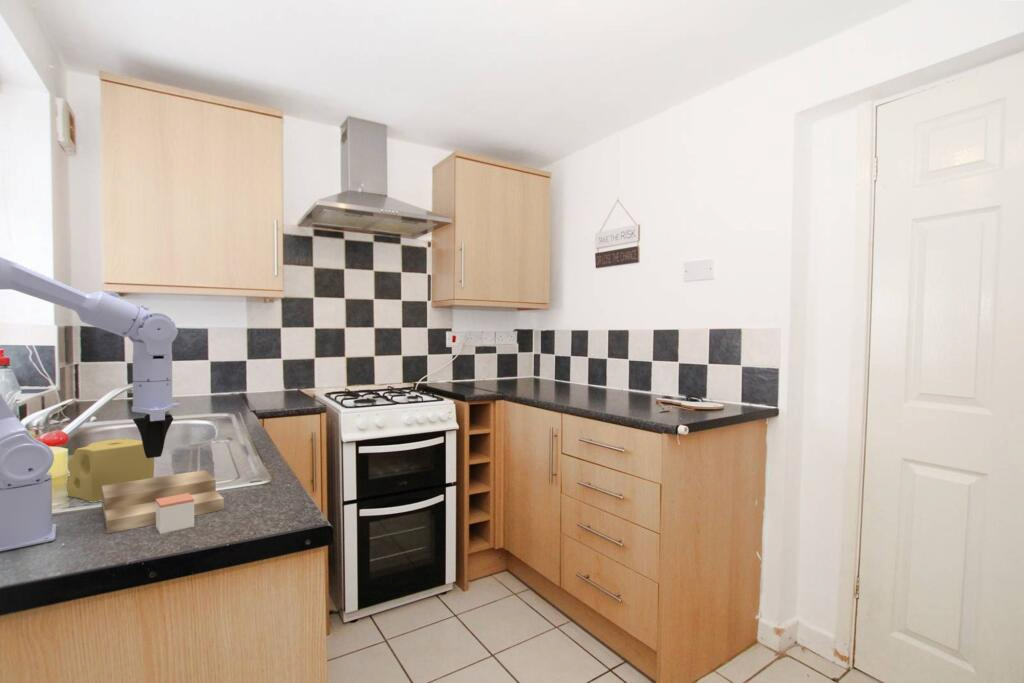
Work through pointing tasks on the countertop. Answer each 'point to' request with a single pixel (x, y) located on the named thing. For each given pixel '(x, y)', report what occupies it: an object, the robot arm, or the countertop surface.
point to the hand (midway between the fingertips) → (153, 456)
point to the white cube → (174, 513)
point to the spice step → (138, 498)
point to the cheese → (107, 467)
